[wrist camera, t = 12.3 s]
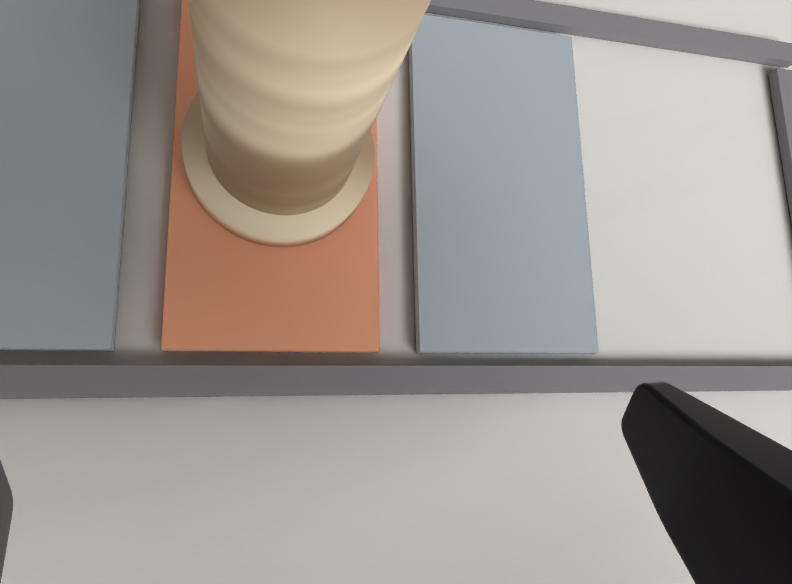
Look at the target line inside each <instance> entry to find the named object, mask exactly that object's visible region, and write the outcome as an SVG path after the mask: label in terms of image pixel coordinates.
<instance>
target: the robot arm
mask: <svg viewBox="0 0 792 584" xmlns="http://www.w3.org/2000/svg"><path fill="white" fill-rule="evenodd" d="M621 426H622V432H623V436H624V438H625V440H626V443H627V445H628V447H629V449H630V452H631V454H632V456H633V459H634V461H635V463H636V465H637V468H638V470H639V472H640V475H641V477H642V479H643V481H644V484H645V486H646V488H647V491H648V493H649V495H650V498H651V500H652V502H653V504H654V507H655V509H656V511H657V513H658V515H659V517H660V520H661V522H662V523H663V525H664V527H665V529H666V531H667V533H668V535H669V537H670V539H671V540H672V542H673V544H674V546H675V548H676V549H677V551H678V553H679V555H680V557H681V558H682V560H683V562H684V564H685V566H686V567H687V569H688V571H689V573H690V575H691V576H692V578H693V580H694V582H695V584H792V450H790V449H788V448H786V447H784V446H783V445H781V444H779V443H777V442H775V441H773V440H772V439H770V438H768V437H766V436H764V435H762V434H761V433H759V432H757V431H755V430H753V429H751V428H750V427H748V426H746V425H744V424H742V423H741V422H739V421H737V420H735V419H733V418H731V417H730V416H728V415H726V414H724V413H722V412H720V411H719V410H717V409H715V408H713V407H711V406H709V405H708V404H706V403H704V402H702V401H700V400H698V399H697V398H695V397H693V396H691V395H689V394H687V393H686V392H684V391H682V390H680V389H678V388H677V387H675V386H673V385H671V384H669V383H667V382H664V381H655V382H645V383H641V384H639V385H638V386H637V387H636V388H635V390H634V392H633V395H632V397H631V399H630V402H629V404H628V406H627V408H626V411H625V413H624V415H623V418H622V423H621ZM12 511H13V496H12V491H11V488H10V486H9V483H8V480H7V477H6V475H5V472H4V469H3V466H2V463H1V461H0V583H1V578H2V572H3V566H4V560H5V554H6V548H7V542H8V536H9V530H10V524H11V518H12Z"/></svg>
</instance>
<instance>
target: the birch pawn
mask: <svg viewBox="0 0 792 584" xmlns="http://www.w3.org/2000/svg"><path fill="white" fill-rule="evenodd" d="M430 1H431V0H189V9H190V18H191V26H192V35H193V43H194V52H195V60H196V69H197V78H198V86H199V92H198V93H197V94H196V96H195V97H194V99H193V100H192V102H191V104H190V106H189V108H188V110H187V113H186V116H185V119H184V122H183V128H182V139H181V146H182V154H183V160H184V165H185V170H186V174H187V178H188V181H189V184H190V187H191V189H192V191H193V194H194V195H195V197H196V199H197V201H198V202H199V204H200V205H201V207H202V208H203V209H204V210H205V212H206V213H207V214H208V215H209V216H210V217H211V218H212V219H213V220H214V221H215V222H216V223H217V224H219V225H220V226H221V227H223V228H224V229H225V230H227V231H228V232H230V233H232V234H234V235H235V236H237V237H240V238H242V239H244V240H247V241H249V242H253V243H256V244H260V245H265V246H271V247H293V246H300V245H305V244H309V243H312V242H315V241H317V240H320V239H322V238H324V237H326V236H328V235H330V234H331V233H333V232H334V231H335V230H337V229H338V228H340V227H341V226H342V225H343V224H344V223H345V222H346V221H347V220H348V219H349V218H350V216H351V215H352V214H353V213H354V211H355V210H356V208H357V206H358V204H359V203H360V201H361V199H362V197H363V196H364V194H365V192H366V190H367V188H368V186H369V183H370V181H371V178H372V174H373V169H374V161H375V149H374V141H373V135H372V132H371V128H372V126H373V124H374V122H375V120H376V118H377V116H378V113H379V111H380V109H381V107H382V105H383V103H384V100H385V98H386V96H387V94H388V92H389V90H390V88H391V85H392V83H393V81H394V79H395V77H396V75H397V73H398V70H399V68H400V66H401V64H402V62H403V60H404V58H405V55H406V53H407V51H408V49H409V47H410V45H411V42H412V40H413V38H414V36H415V34H416V32H417V30H418V27H419V25H420V23H421V21H422V19H423V17H424V15H425V12H426V10H427V8H428V6H429V4H430Z"/></svg>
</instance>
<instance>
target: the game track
mask: <svg viewBox="0 0 792 584" xmlns="http://www.w3.org/2000/svg"><path fill="white" fill-rule="evenodd" d="M139 8H140V0H0V350H72V351H114V342H115V328H116V315H117V302H118V288H119V275H120V262H121V248H122V235H123V221H124V208H125V195H126V181H127V168H128V155H129V141H130V128H131V115H132V101H133V88H134V75H135V61H136V48H137V34H138V21H139ZM426 12H428V13H435V14H441V15H448V16H454V17H461V18H467V19H474V20H480V21H487V22H493V23H500V24H506V25H513V26H519V27H526V28H532V29H539V30H545V31H552V32H558V33H565V34H571V35H578V36H584V37H591V38H597V39H604V40H610V41H617V42H623V43H630V44H636V45H643V46H649V47H656V48H662V49H669V50H675V51H682V52H688V53H695V54H701V55H708V56H714V57H721V58H727V59H734V60H740V61H747V62H753V63H760V64H766V65H773V66H779V67H786V68H788V67H789V66H791V65H792V43H786V42H780V41H774V40H768V39H762V38H756V37H750V36H744V35H738V34H732V33H726V32H720V31H714V30H708V29H702V28H696V27H690V26H684V25H678V24H672V23H666V22H660V21H654V20H648V19H642V18H636V17H630V16H624V15H618V14H612V13H606V12H600V11H594V10H588V9H582V8H576V7H570V6H564V5H558V4H552V3H546V2H540V1H534V0H431V1H430V4H429V6H428V8H427V10H426ZM768 77H769V83H770V89H771V96H772V102H773V109H774V115H775V121H776V128H777V134H778V141H779V147H780V153H781V160H782V166H783V172H784V179H785V185H786V192H787V198H788V204H789V211H790V217H791V224H792V70H786V69H779V68H776V69H775V70H773V71H772V72H770V73H768ZM409 86H410V125H411V164H412V204H413V243H414V282H415V322H416V353H499V354H595V353H599V351H598V340H597V328H596V316H595V305H594V293H593V282H592V270H591V258H590V247H589V235H588V223H587V212H586V200H585V188H584V177H583V165H582V153H581V142H580V130H579V118H578V107H577V95H576V83H575V72H574V60H573V49H572V37H569V36H563V35H556V34H550V33H543V32H537V31H530V30H524V29H517V28H511V27H504V26H497V25H491V24H484V23H478V22H471V21H465V20H458V19H452V18H445V17H438V16H432V15H424V17H423V19H422V21H421V23H420V25H419V27H418V30H417V32H416V34H415V36H414V38H413V40H412V42H411V45H410V47H409ZM198 92H199V86H198V78H197V69H196V60H195V52H194V43H193V35H192V26H191V18H190V9H189V0H182V4H181V21H180V38H179V55H178V72H177V89H176V106H175V122H174V139H173V156H172V173H171V190H170V207H169V224H168V241H167V257H166V274H165V291H164V308H163V325H162V342H161V350H162V351H214V352H356V353H377V352H379V351H380V350H379V274H378V198H377V123H376V120H375V122H374V124H373V126H372V128H371V132H372V135H373V141H374V149H375V161H374V169H373V174H372V178H371V181H370V183H369V186H368V188H367V190H366V192H365V194H364V196H363V197H362V199H361V201H360V203H359V204H358V206H357V208H356V210H355V211H354V213H353V214H352V215H351V216H350V218H349V219H348V220H347V221H346V222H345V223H344V224H343V225H342V226H341V227H340V228H338V229H337V230H335V231H334V232H333V233H331V234H330V235H328V236H326V237H324V238H322V239H320V240H317V241H315V242H312V243H309V244H305V245H300V246H293V247H271V246H265V245H260V244H256V243H253V242H249V241H247V240H244V239H242V238H240V237H237V236H235V235H234V234H232V233H230V232H228V231H227V230H225V229H224V228H223V227H221V226H220V225H219V224H217V223H216V222H215V221H214V220H213V219H212V218H211V217H210V216H209V215H208V214H207V213H206V212H205V210H204V209H203V208H202V207H201V205H200V204H199V202H198V201H197V199H196V197H195V195H194V194H193V191H192V189H191V187H190V184H189V181H188V178H187V174H186V170H185V165H184V160H183V154H182V146H181V139H182V128H183V122H184V119H185V116H186V113H187V110H188V108H189V106H190V104H191V102H192V100H193V99H194V97H195V96H196V94H197V93H198ZM655 381H664V382H667V383H669V384H671V385H673V386H675V387H677V388H678V389H680V390H682V391H772V390H792V366H437V365H0V399H25V398H118V397H211V396H305V395H398V394H492V393H585V392H634V390H635V388H636V387H637V386H638V385H639V384H641V383H645V382H655Z"/></svg>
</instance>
